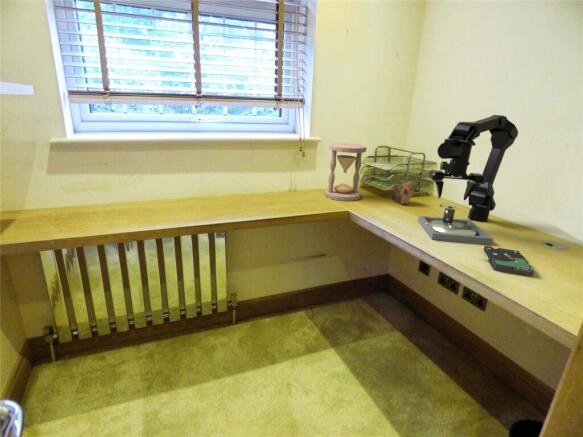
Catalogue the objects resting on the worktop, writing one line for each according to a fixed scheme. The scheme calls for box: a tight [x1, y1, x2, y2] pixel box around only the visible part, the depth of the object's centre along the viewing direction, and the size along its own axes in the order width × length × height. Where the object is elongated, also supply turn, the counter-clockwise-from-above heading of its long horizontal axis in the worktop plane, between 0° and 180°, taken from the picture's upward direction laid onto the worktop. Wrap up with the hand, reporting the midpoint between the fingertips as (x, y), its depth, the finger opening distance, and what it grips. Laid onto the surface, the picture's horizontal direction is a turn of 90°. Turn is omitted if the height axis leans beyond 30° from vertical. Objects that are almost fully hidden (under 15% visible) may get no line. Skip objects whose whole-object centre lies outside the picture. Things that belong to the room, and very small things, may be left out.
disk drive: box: [483, 245, 535, 278], centre depth 107 cm, size 10×3×15 cm
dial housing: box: [417, 215, 493, 246], centre depth 129 cm, size 20×20×3 cm
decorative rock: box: [391, 180, 415, 205], centre depth 165 cm, size 12×6×11 cm, turn 15°
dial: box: [429, 207, 477, 236], centre depth 128 cm, size 16×16×7 cm
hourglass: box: [324, 142, 367, 202], centre depth 168 cm, size 18×18×25 cm
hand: (451, 199), depth 131 cm, fingers open, 9 cm apart
